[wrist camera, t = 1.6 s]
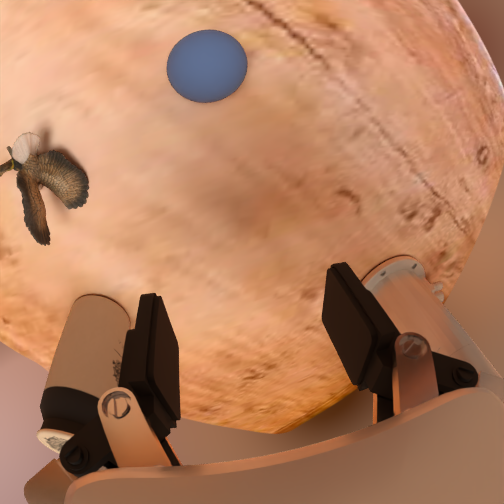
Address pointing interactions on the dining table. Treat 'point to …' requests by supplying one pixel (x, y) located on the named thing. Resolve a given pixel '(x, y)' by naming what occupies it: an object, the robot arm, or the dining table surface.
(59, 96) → the dining table surface
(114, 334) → the travel mug
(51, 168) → the eagle figurine
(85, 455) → the robot arm
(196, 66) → the ball
